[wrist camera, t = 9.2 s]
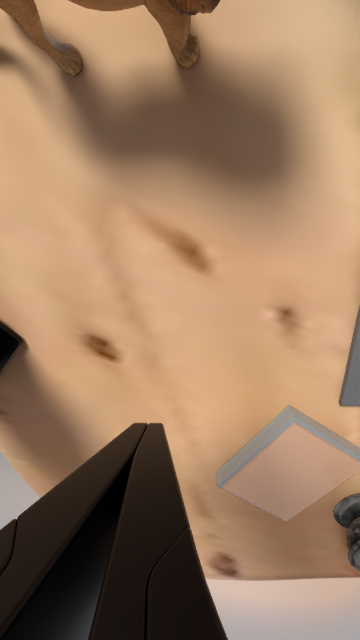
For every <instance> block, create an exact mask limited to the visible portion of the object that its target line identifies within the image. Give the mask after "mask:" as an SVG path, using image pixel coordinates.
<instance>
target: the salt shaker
mask: <svg viewBox="0 0 360 640" xmlns="http://www.w3.org/2000/svg"><path fill="white" fill-rule="evenodd" d="M334 517H335V519H336V521H337V522H338V523H339V524H340V525H342V526H344V527H346V528H348V530H347V547H348V549H349V552H348V559H349V561H350V563H351V565H352V566H354V567H355V568H356V569H357V570H359V571H360V493H359V494H355V495H351V496H349V497H346V498H344V499H343V500H341V501H340V502H339V503H338V504H337V505H336V506H335V509H334Z"/></svg>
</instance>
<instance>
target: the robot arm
mask: <svg viewBox="0 0 360 640" xmlns="http://www.w3.org/2000/svg"><path fill="white" fill-rule="evenodd" d="M13 340H14V341H15V342H16V343H15V342H14V341H13ZM21 344H22V339H21V338H20V337H19V336H18V335H17V334H15V333H14V332H13V331H11V330H10V329H8V328H7V327H6V326H4V325H3V324H1V323H0V373H1V372H2V370H3V369H4V367H5V366H6V365H7V363H8V362H9V361H10V359H11V358H12V356H13V355H14V354H15V352H16V351H17V349H18V348H19V347H20V345H21ZM0 640H228V638H227V636H226V633H225V631H224V628H223V626H222V623H221V621H220V618H219V616H218V613H217V610H216V607H215V604H214V602H213V599H212V596H211V594H210V591H209V588H208V586H207V583H206V580H205V576H204V573H203V570H202V566H201V563H200V560H199V556H198V553H197V550H196V546H195V542H194V538H193V535H192V531H191V529H190V525H189V521H188V517H187V513H186V509H185V506H184V502H183V498H182V494H181V491H180V487H179V483H178V479H177V475H176V472H175V468H174V464H173V460H172V456H171V453H170V449H169V445H168V441H167V438H166V434H165V430H164V426H163V424H162V423H150V424H147V423H134V424H132V425H131V426H130V427H128V428H127V429H126V430H125V431H123V432H122V433H121V434H120V435H118V436H117V437H116V438H115V439H114V440H112V441H111V442H110V443H109V444H107V445H106V446H105V447H104V448H102V449H101V450H100V451H99V452H97V453H96V454H95V455H94V456H92V457H91V458H90V459H89V460H87V461H86V462H85V463H84V464H82V465H81V466H80V467H79V468H78V469H76V470H75V471H74V472H73V473H71V474H70V475H69V476H68V477H66V478H65V479H64V480H63V481H61V482H60V483H59V484H58V485H56V486H55V487H54V488H53V489H51V490H50V491H49V492H48V493H46V494H45V495H44V496H43V497H42V498H40V499H39V500H38V501H37V502H35V503H34V504H33V505H32V506H30V507H29V508H28V509H27V510H25V511H24V512H23V513H22V514H20V515H19V517H18V519H13V520H12V521H11V522H10V523H8V524H7V525H6V526H5V527H3V528H2V529H1V530H0Z"/></svg>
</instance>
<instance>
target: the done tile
mask: <svg viewBox="0 0 360 640" xmlns="http://www.w3.org/2000/svg"><path fill="white" fill-rule="evenodd" d="M359 471H360V448H359V447H358V446H356V445H354V444H353V443H351V442H350V441H348V440H346V439H345V438H343V437H341V436H340V435H338V434H336V433H335V432H333V431H331V430H330V429H328V428H327V427H325V426H323V425H322V424H320V423H318V422H317V421H315V420H313V419H312V418H310V417H309V416H307V415H305V414H304V413H302V412H300V411H299V410H297V409H295V408H294V407H292V406H291V405H288V406H287V407H286V408H285V409H284V410H283V411H282V412H281V413H280V414H278V415H277V416H276V417H275V418H274V419H273V420H272V421H271V422H270V423H269V424H268V425H267V426H266V427H264V428H263V429H262V430H261V431H260V432H259V433H258V434H257V435H256V436H255V437H254V438H253V439H252V440H251V441H249V442H248V443H247V444H246V445H245V446H244V447H243V448H242V449H241V450H240V451H239V452H238V453H237V454H235V455H234V456H233V457H232V458H231V459H230V460H229V461H228V462H227V463H226V464H225V465H224V466H223V467H221V468H220V469H219V470H218V471H217V472H216V483H217V486H218V487H220V488H222V489H223V490H225V491H227V492H229V493H231V494H233V495H235V496H237V497H239V498H241V499H243V500H245V501H247V502H248V503H250V504H252V505H254V506H256V507H258V508H260V509H262V510H264V511H266V512H268V513H270V514H272V515H273V516H275V517H277V518H279V519H281V520H283V521H285V522H287V521H288V520H290V519H291V518H293V517H294V516H296V515H297V514H298V513H300V512H301V511H303V510H304V509H306V508H307V507H308V506H310V505H311V504H313V503H314V502H316V501H317V500H319V499H320V498H321V497H323V496H324V495H326V494H327V493H329V492H330V491H331V490H333V489H334V488H336V487H337V486H339V485H340V484H342V483H343V482H344V481H346V480H347V479H349V478H350V477H352V476H353V475H354V474H356V473H357V472H359Z"/></svg>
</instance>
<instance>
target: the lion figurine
mask: <svg viewBox="0 0 360 640" xmlns="http://www.w3.org/2000/svg"><path fill="white" fill-rule="evenodd" d="M69 1H71V2H73V3H75V4H78V5H80V6H82V7H85V8H88V9H94V10H100V11H119V10H124V9H128V8H133V7H137V6H140V5H145V6H146V7H147V9H148V11H149V12H150V13H151V15H152V16H153V17H154V18H155V19H156V20H157V22H158V23H159V25H160V26H161V28H162V30H163V32H164V35H165V37H166V39H167V42H168V45H169V48H170V50H171V52H172V54H173V56H174V58H175V59H176V60H177V61H178V62H179V64H180V65H181V66H183V67H187V68H188V67H191V66H192V65H193V64H194V63H195V62H196V60H197V58H198V55H199V47H198V39H197V37H195V36H192V35H189V30H190V22H191V15H196V14H197V13H198V12H201V13H211V12H212V11H213V10H214V9H215V7H216V6H217V5H218V4H219V2H220V0H69ZM0 8H1V9H2V10H4V11H5V12H6V13H8V14H9V15H11V16H12V17H14V18H15V19H16V21H17V22H19V23H20V24H21V25H22V26H23V28H24V30H25V32H26V34H27V36H28V37H29V38H30V39H31V40H32V41H33V42H34V43H35V44H36V45H37V46H39V47H40V48H41V49H42V50H44V51H45V52H46V53H47V54H48V55H49V56H50V57H51V58H52V59H53V60H54V61H55V62H56V64H57V65H58V66H59V67H60V68H62V69H63V70H64V71H65V72H66V73H68V74H70V75H76V74H78V73H79V72H80V70H81V55H80V53H79V51H78V49H77V48H75V47H74V46H73V45H71V44H68V43H62V42H60V41H57V40H55V39H54V38H53V37H52V36H50V35H49V34H48V33H47V32H46V31H45V29H44V28H43V27H42V24H41V21H40V17H39V13H38V10H37V7H36V4H35V2H34V0H0Z"/></svg>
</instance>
